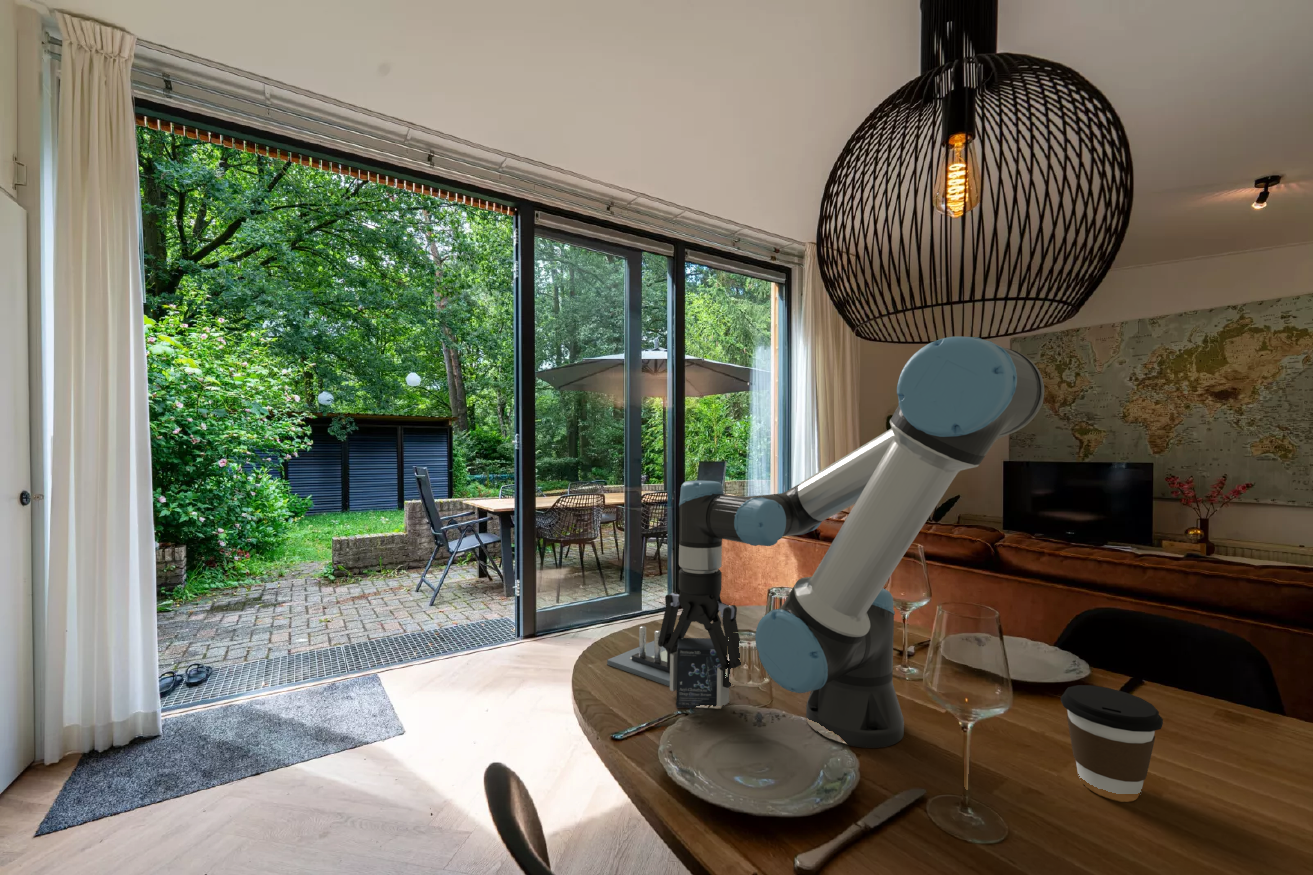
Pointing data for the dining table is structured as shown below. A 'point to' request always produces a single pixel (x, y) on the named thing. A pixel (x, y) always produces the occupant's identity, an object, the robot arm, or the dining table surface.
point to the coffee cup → (1111, 736)
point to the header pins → (648, 660)
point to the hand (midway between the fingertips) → (698, 696)
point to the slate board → (640, 669)
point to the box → (696, 672)
